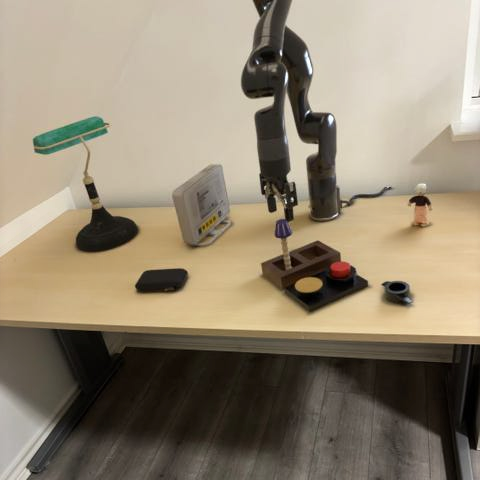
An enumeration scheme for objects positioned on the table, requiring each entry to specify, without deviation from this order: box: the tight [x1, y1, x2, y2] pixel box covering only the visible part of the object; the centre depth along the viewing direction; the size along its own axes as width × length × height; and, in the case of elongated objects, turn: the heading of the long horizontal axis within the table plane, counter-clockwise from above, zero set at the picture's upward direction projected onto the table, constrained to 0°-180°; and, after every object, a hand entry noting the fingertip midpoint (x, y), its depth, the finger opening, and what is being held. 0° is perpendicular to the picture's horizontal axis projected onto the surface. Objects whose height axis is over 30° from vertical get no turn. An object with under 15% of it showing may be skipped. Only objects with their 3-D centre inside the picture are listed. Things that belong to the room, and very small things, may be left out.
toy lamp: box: [274, 218, 293, 271], centre depth 135 cm, size 5×5×17 cm
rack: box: [260, 240, 342, 291], centre depth 140 cm, size 11×19×4 cm, turn 117°
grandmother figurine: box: [407, 183, 433, 228], centre depth 149 cm, size 8×4×13 cm, turn 58°
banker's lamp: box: [32, 115, 139, 253], centre depth 173 cm, size 26×23×40 cm
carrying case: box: [134, 267, 189, 292], centre depth 146 cm, size 11×3×15 cm
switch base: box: [283, 264, 369, 313], centre depth 130 cm, size 18×12×4 cm, turn 117°
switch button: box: [331, 260, 351, 277], centre depth 130 cm, size 5×5×2 cm
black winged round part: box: [380, 280, 415, 304], centre depth 122 cm, size 8×10×3 cm
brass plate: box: [295, 277, 323, 293], centre depth 127 cm, size 7×7×1 cm
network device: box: [171, 163, 232, 247], centre depth 166 cm, size 26×9×20 cm, turn 152°
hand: (281, 216), depth 130 cm, fingers open, 8 cm apart
